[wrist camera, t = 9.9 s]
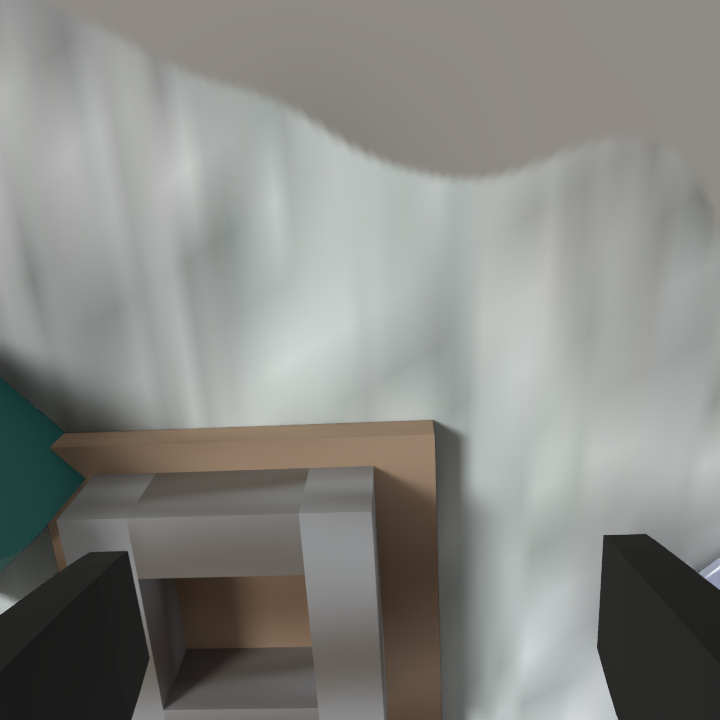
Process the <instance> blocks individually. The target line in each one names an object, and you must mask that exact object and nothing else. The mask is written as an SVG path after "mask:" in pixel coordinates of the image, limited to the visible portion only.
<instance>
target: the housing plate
mask: <svg viewBox="0 0 720 720" xmlns="http://www.w3.org/2000/svg"><path fill="white" fill-rule="evenodd" d="M50 449H51V450H53V451H54V452H55V453H56V454H57V455H58V456H60V457H61V458H62V459H63V460H64V461H65V462H67V463H68V464H69V465H70V466H71V467H73V468H74V469H75V470H76V471H77V472H78V473H80V474H81V475H82V476H83V477H84V478H86V479H85V480H84V481H83V483H82V484H81V485H80V486H79V487H78V489H77V490H76V491H75V492H74V493H73V495H72V496H71V497H70V498H69V499H68V500H67V502H66V503H65V504H64V505H63V506H62V508H61V509H60V510H59V511H58V512H57V513H56V515H55V516H54V517H53V518H52V519H51V521H50V522H49V523H48V524H47V525H48V529H49V533H50V537H51V541H52V546H53V550H54V554H55V558H56V563H57V567H58V571H59V572H60V571H62V570H63V569H64V568H66V567H67V566H69V565H70V564H72V563H73V562H75V561H76V560H78V559H79V558H81V557H82V556H84V555H86V554H87V553H89V552H106V551H128V554H129V559H130V564H131V568H132V573H133V578H134V583H135V588H136V593H137V598H138V603H139V608H140V613H141V617H142V622H143V627H144V632H145V637H146V642H147V647H148V652H149V657H150V659H149V663H148V666H147V670H146V673H145V677H144V680H143V684H142V687H141V691H140V694H139V697H138V701H137V704H136V707H135V710H134V713H133V716H132V720H442V705H441V666H440V627H439V588H438V549H437V510H436V470H435V434H434V427H433V420H420V421H392V422H365V423H337V424H310V425H282V426H255V427H227V428H199V429H172V430H144V431H117V432H89V433H64V434H63V435H62V436H61V437H60V438H59V439H58V440H57V441H56V442H55V443H54V444H53V445H52V446H51V447H50Z"/></svg>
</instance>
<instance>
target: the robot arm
mask: <svg viewBox="0 0 720 720" xmlns="http://www.w3.org/2000/svg"><path fill="white" fill-rule="evenodd" d="M597 649H598V653H599V656H600V660H601V663H602V667H603V671H604V674H605V678H606V681H607V685H608V688H609V692H610V695H611V698H612V702H613V705H614V708H615V712H616V715H617V717H618V720H720V557H719V558H718V559H717V560H715V561H714V562H712V563H711V564H710V565H708V566H707V567H706V568H704V569H703V570H702V571H700V572H699V573H697V572H696V571H695V570H693V569H692V568H691V567H689V566H688V565H687V564H686V563H684V562H683V561H682V560H680V559H679V558H678V557H676V556H675V555H674V554H672V553H671V552H670V551H669V550H667V549H666V548H665V547H663V546H662V545H661V544H659V543H658V542H657V541H655V540H654V539H652V538H651V537H649V536H648V535H647V534H631V535H604V538H603V555H602V573H601V590H600V608H599V625H598V643H597ZM149 659H150V657H149V652H148V647H147V642H146V637H145V632H144V627H143V622H142V617H141V613H140V608H139V603H138V598H137V593H136V588H135V583H134V578H133V573H132V568H131V564H130V559H129V554H128V551H106V552H89V553H87V554H86V555H84V556H82V557H81V558H79V559H78V560H76V561H75V562H73V563H72V564H70V565H69V566H67V567H66V568H64V569H63V570H62V571H60V572H59V573H57V574H56V575H55V576H53V577H52V578H50V579H49V580H48V581H46V582H45V583H43V584H42V585H41V586H39V587H38V588H37V589H35V590H34V591H32V592H31V593H30V594H28V595H27V596H26V597H24V598H23V599H22V600H20V601H19V602H17V603H16V604H15V605H13V606H12V607H11V608H9V609H8V610H6V611H5V612H4V613H2V614H1V615H0V720H132V716H133V713H134V710H135V707H136V704H137V701H138V697H139V694H140V691H141V687H142V684H143V680H144V677H145V673H146V670H147V666H148V663H149Z"/></svg>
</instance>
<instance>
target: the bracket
mask: <svg viewBox="0 0 720 720" xmlns="http://www.w3.org/2000/svg"><path fill="white" fill-rule="evenodd" d="M64 433H65V432H63V431H62V430H61V429H60V428H59V427H58V426H57V425H55V424H54V423H53V422H52V421H51V420H50V419H48V418H47V417H46V416H45V415H44V414H43V413H41V412H40V411H39V410H38V409H37V408H36V407H34V406H33V405H32V404H31V403H30V402H29V401H27V400H26V399H25V398H24V397H23V396H22V395H20V394H19V393H18V392H17V391H16V390H15V389H14V388H12V387H11V386H10V385H9V384H8V383H7V382H5V381H4V380H3V379H2V378H1V377H0V572H1V571H2V570H3V569H4V568H5V567H6V566H7V565H8V564H9V563H10V562H11V561H12V560H13V559H14V558H15V557H16V556H17V555H19V554H20V553H21V552H22V551H23V550H24V549H25V548H26V547H27V546H28V545H29V544H30V543H31V542H32V541H33V540H34V539H35V538H36V537H37V536H38V535H39V534H40V532H41V531H42V530H43V529H44V528H45V527H46V525H47V524H48V523H49V522H50V521H51V519H52V518H53V517H54V516H55V515H56V513H57V512H58V511H59V510H60V509H61V508H62V506H63V505H64V504H65V503H66V502H67V500H68V499H69V498H70V497H71V496H72V495H73V493H74V492H75V491H76V490H77V489H78V487H79V486H80V485H81V484H82V483H83V481H84V480H85V479H86V478H84V477H83V476H82V475H81V474H80V473H78V472H77V471H76V470H75V469H74V468H73V467H71V466H70V465H69V464H68V463H67V462H65V461H64V460H63V459H62V458H61V457H60V456H58V455H57V454H56V453H55V452H54V451H53V450H51V449H50V447H51V446H52V445H53V444H54V443H55V442H56V441H57V440H58V439H59V438H60V437H61V436H62V435H63V434H64Z"/></svg>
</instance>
